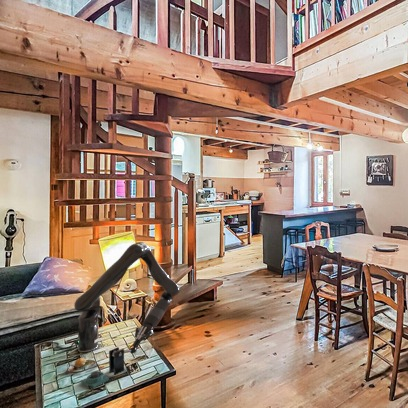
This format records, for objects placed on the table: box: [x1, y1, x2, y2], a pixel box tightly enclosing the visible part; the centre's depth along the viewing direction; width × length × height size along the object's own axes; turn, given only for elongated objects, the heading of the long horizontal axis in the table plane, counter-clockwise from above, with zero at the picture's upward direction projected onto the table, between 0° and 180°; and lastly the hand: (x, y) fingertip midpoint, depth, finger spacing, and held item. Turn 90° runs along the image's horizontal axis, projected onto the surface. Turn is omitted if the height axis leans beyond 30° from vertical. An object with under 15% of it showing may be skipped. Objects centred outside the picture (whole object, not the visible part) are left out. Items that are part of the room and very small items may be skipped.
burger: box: [66, 357, 97, 374], centre depth 167 cm, size 12×12×8 cm
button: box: [90, 370, 101, 378], centre depth 155 cm, size 4×4×2 cm
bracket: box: [108, 346, 125, 376], centre depth 163 cm, size 8×10×13 cm
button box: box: [80, 371, 110, 389], centre depth 155 cm, size 10×7×4 cm
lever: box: [112, 346, 138, 356], centre depth 167 cm, size 12×3×3 cm, turn 158°
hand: (134, 346), depth 172 cm, fingers closed
